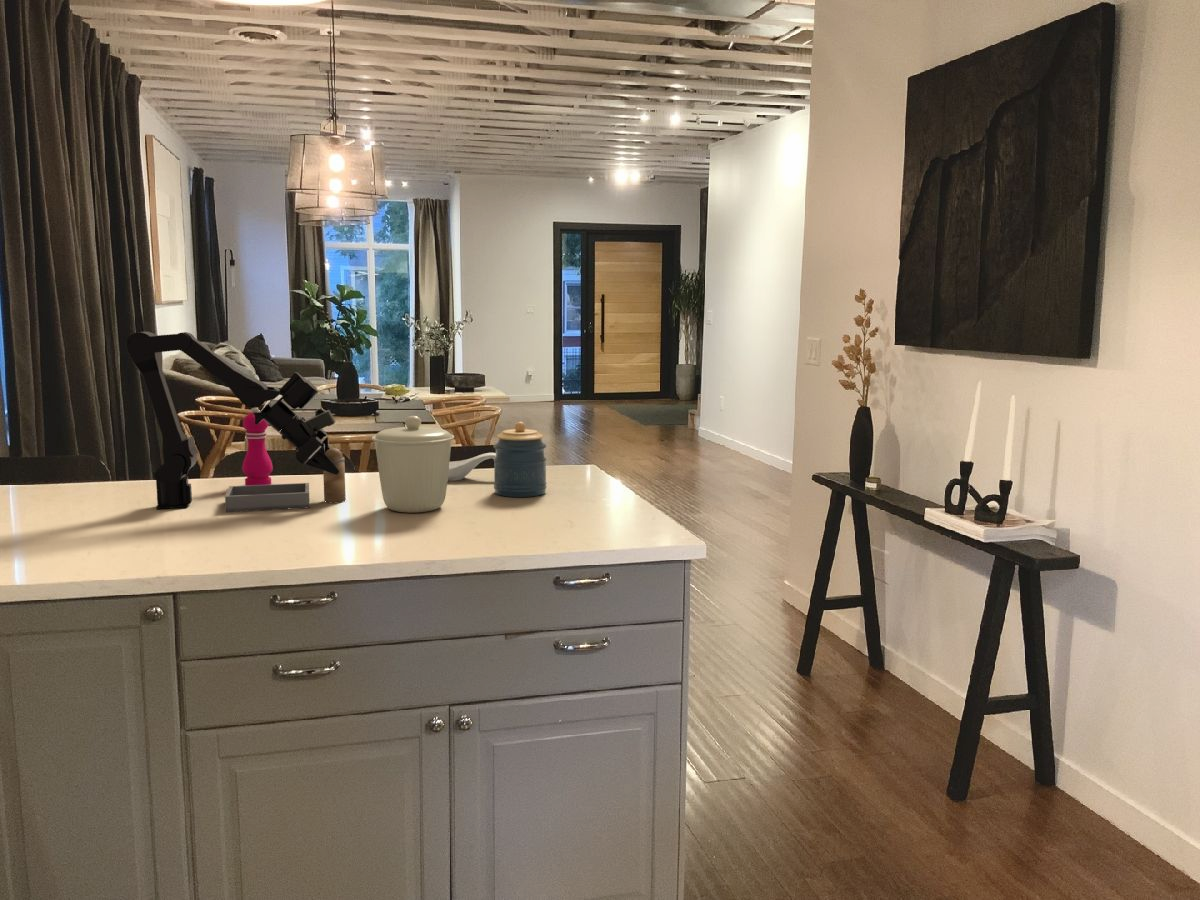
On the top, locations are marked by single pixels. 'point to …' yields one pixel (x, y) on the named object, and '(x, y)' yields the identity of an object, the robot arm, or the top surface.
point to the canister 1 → (413, 466)
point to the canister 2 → (520, 463)
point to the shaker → (335, 478)
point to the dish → (267, 497)
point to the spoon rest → (466, 466)
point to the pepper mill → (256, 452)
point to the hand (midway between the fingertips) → (339, 469)
